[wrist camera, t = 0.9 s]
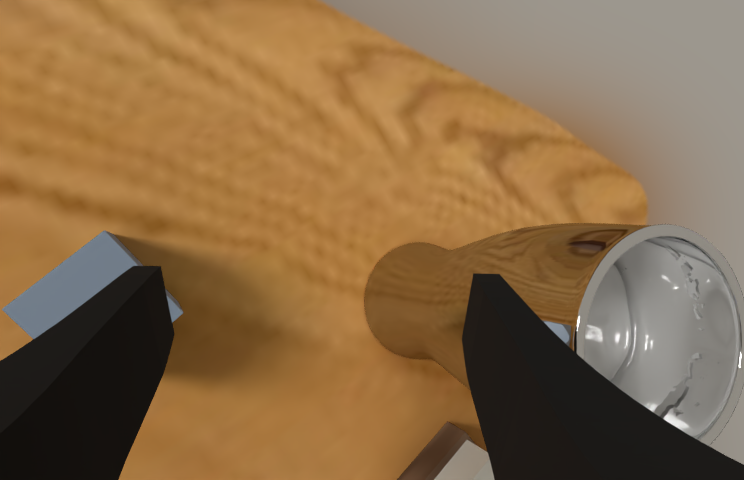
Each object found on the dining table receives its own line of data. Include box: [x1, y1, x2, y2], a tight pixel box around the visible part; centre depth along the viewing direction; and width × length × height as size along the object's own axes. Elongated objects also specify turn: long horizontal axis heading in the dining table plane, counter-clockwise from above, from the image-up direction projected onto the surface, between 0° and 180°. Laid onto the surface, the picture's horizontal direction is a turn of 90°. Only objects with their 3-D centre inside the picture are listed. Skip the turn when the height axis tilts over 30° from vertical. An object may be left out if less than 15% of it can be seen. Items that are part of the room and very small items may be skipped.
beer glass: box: [364, 223, 744, 446], centre depth 21 cm, size 7×7×15 cm
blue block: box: [2, 230, 183, 339], centre depth 21 cm, size 4×4×4 cm
